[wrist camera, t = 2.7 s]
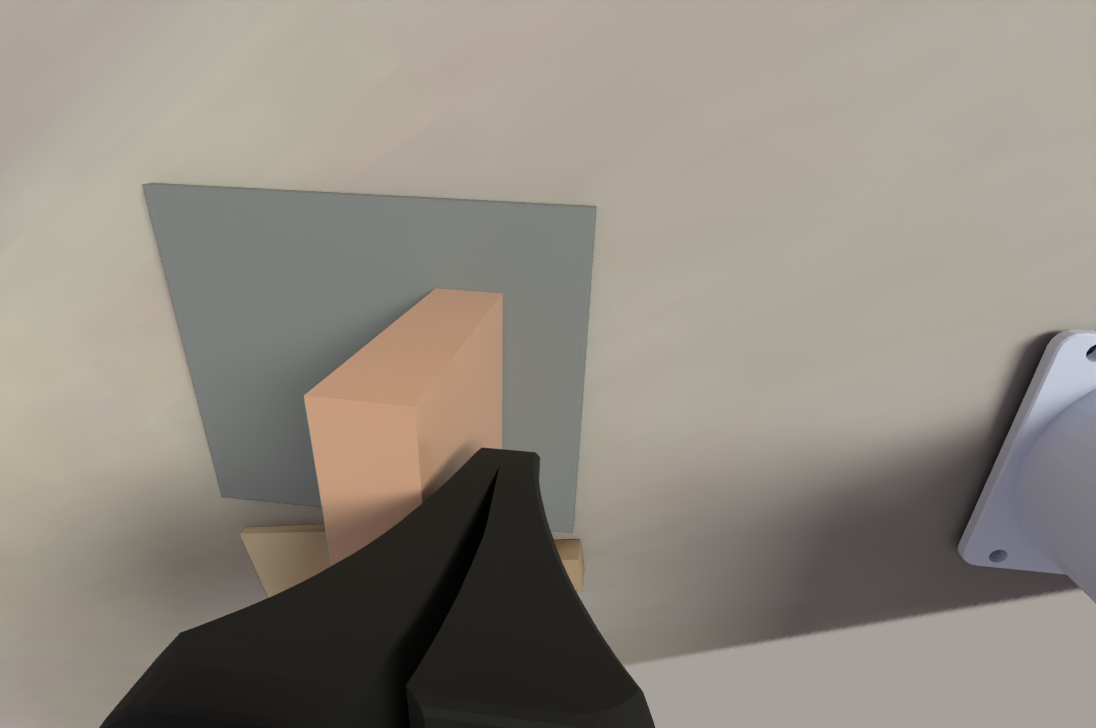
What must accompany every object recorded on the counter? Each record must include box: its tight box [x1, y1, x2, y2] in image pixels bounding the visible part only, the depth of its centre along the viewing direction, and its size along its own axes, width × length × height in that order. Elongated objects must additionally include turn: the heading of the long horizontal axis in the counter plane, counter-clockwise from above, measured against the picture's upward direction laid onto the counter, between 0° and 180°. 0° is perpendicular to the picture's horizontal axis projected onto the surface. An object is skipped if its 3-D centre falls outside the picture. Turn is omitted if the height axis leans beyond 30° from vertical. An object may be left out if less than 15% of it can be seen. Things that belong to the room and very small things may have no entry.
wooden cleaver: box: [240, 524, 584, 598], centre depth 20 cm, size 13×4×1 cm, turn 98°
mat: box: [142, 183, 596, 533], centre depth 17 cm, size 13×11×1 cm
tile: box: [304, 288, 503, 566], centre depth 14 cm, size 2×6×7 cm, turn 178°
